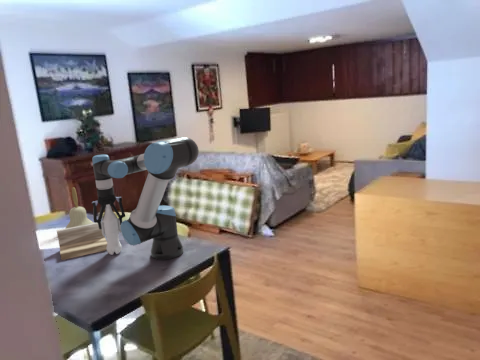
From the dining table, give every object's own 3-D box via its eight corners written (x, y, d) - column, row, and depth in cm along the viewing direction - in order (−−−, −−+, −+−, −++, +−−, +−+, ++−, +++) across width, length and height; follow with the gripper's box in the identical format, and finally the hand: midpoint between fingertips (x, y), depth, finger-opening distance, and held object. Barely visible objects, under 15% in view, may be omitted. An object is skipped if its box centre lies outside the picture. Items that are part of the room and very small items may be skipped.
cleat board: (108, 249, 205) (105, 228, 202) (61, 260, 196) (57, 238, 193) (105, 241, 217) (102, 221, 215) (60, 250, 208) (56, 230, 206)
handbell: (67, 226, 246) (60, 186, 240) (94, 222, 250) (87, 182, 244) (65, 234, 231) (57, 192, 226) (93, 230, 236) (86, 188, 230)
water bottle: (106, 256, 196) (99, 206, 190) (107, 251, 203) (100, 202, 197) (122, 254, 198) (115, 204, 192) (122, 248, 205) (115, 200, 199)
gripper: (125, 182, 200) (131, 226, 205) (81, 189, 192) (89, 235, 197) (128, 185, 193) (134, 231, 199) (83, 192, 185) (91, 240, 191)
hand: (111, 233), depth 198 cm, fingers closed on water bottle, 7 cm apart
